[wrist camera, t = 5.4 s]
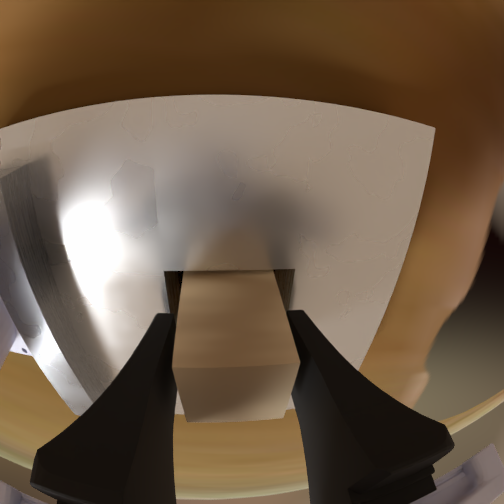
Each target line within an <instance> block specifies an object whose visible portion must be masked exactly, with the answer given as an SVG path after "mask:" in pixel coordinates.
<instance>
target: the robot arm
mask: <svg viewBox="0 0 504 504" xmlns="http://www.w3.org/2000/svg"><path fill="white" fill-rule="evenodd" d="M286 315H287V319H288V322H289V325H290V329H291V332H292V336H293V339H294V342H295V346H296V349H297V353H298V356H299V359H300V365H299V369H298V372H297V376H296V379H295V382H294V386H293V389H292V392H291V396H292V399H293V403H294V406H295V410H296V413H297V416H298V420H299V424H300V429H301V435H302V441H303V447H304V453H305V460H306V467H307V475H308V483H309V494H310V504H491V503H492V502H493V501H494V500H495V499H496V498H497V497H499V496H500V495H501V494H502V493H503V492H504V466H503V464H502V462H501V459H500V457H499V455H498V453H497V451H496V449H495V447H494V444H493V443H491V444H490V445H489V446H487V447H486V448H484V449H483V450H481V451H480V452H478V453H477V454H475V455H474V456H472V457H471V458H470V459H468V460H466V461H465V462H464V463H463V464H462V465H460V466H458V467H457V468H455V469H453V470H452V471H450V472H448V473H447V474H445V475H443V476H441V477H439V478H437V479H435V480H433V478H432V475H431V474H433V473H434V472H435V470H434V467H433V465H432V464H434V463H435V462H437V461H438V460H439V459H441V458H442V457H444V456H445V455H446V454H448V453H449V452H450V451H451V450H452V449H453V448H454V442H453V440H452V438H451V436H450V434H449V431H448V430H447V428H446V426H445V425H444V424H442V423H439V422H437V421H435V420H432V419H430V418H428V417H426V416H424V415H421V414H419V413H418V412H416V411H414V410H412V409H410V408H408V407H407V406H405V405H403V404H402V403H400V402H399V401H397V400H395V399H394V398H392V397H391V396H390V395H388V394H387V393H385V392H384V391H382V390H381V389H379V388H378V387H377V386H375V385H374V384H373V383H372V382H370V381H369V380H368V379H367V378H366V377H364V376H363V375H362V374H361V373H360V372H359V371H358V370H357V369H356V368H354V367H353V366H352V365H351V364H350V363H349V362H348V361H347V360H346V359H345V358H344V357H343V356H342V355H341V354H340V353H339V351H338V350H337V349H336V348H335V347H334V346H333V345H332V344H331V343H330V342H329V340H328V339H327V338H326V337H325V336H324V335H323V333H322V332H321V331H320V330H319V329H318V328H317V326H316V325H315V324H314V323H313V321H312V320H311V319H310V318H309V316H308V315H307V314H306V313H305V311H304V310H287V312H286ZM175 333H176V323H175V317H174V313H157V314H156V315H155V317H154V319H153V320H152V322H151V324H150V326H149V328H148V329H147V331H146V333H145V334H144V336H143V338H142V339H141V341H140V343H139V344H138V346H137V347H136V349H135V350H134V352H133V354H132V355H131V357H130V358H129V360H128V361H127V362H126V364H125V365H124V366H123V368H122V369H121V371H120V372H119V373H118V375H117V376H116V377H115V379H114V380H113V381H112V383H111V384H110V385H109V386H108V387H107V389H106V390H105V391H104V392H103V393H102V394H101V396H100V397H99V398H98V399H97V400H96V401H95V402H94V403H93V404H92V405H91V406H90V407H89V408H88V409H87V410H86V411H85V412H84V413H83V414H82V415H81V416H80V417H79V418H78V419H77V420H75V421H74V422H73V423H72V424H71V425H70V426H69V427H67V428H66V429H65V430H64V431H63V432H61V433H60V434H59V435H58V436H56V437H55V438H53V439H52V440H51V441H49V442H48V443H46V444H45V445H44V446H42V447H41V448H39V449H38V450H37V453H36V456H35V459H34V463H33V468H32V474H31V479H30V484H31V486H32V487H33V488H35V489H37V490H39V491H40V492H42V493H44V494H46V495H48V496H51V497H52V498H54V499H57V504H176V495H175V483H174V466H173V423H174V414H175V406H176V398H177V391H178V389H177V385H176V381H175V377H174V373H173V370H172V362H173V352H174V342H175ZM9 351H12V352H17V353H21V354H26V355H31V356H33V355H32V354H31V352H30V351H29V349H28V347H27V346H26V344H25V342H24V340H23V339H22V337H21V335H20V333H19V332H18V330H17V328H16V326H15V324H14V322H13V320H12V318H11V317H10V315H9V313H8V311H7V309H6V306H5V304H4V302H3V300H2V298H1V296H0V369H1V367H2V365H3V363H4V361H5V359H6V357H7V355H8V353H9ZM0 504H47V503H45V502H42V501H40V500H38V499H35V498H33V497H31V496H28V495H26V494H24V493H22V492H20V491H19V490H17V489H16V488H14V487H12V486H10V485H8V484H6V483H4V482H3V481H1V480H0Z"/></svg>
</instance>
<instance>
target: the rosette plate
mask: <svg viewBox="0 0 504 504" xmlns="http://www.w3.org/2000/svg"><path fill="white" fill-rule="evenodd" d="M434 134H435V128H434V127H431V126H428V125H424V124H421V123H418V122H414V121H410V120H407V119H403V118H399V117H395V116H391V115H387V114H383V113H378V112H374V111H369V110H364V109H359V108H354V107H348V106H343V105H337V104H330V103H324V102H317V101H309V100H301V99H291V98H280V97H267V96H250V95H181V96H164V97H151V98H141V99H131V100H123V101H116V102H109V103H102V104H96V105H91V106H85V107H80V108H75V109H70V110H66V111H61V112H57V113H53V114H49V115H45V116H41V117H37V118H33V119H30V120H26V121H23V122H20V123H16V124H13V125H10V126H7V127H4V128H1V129H0V296H1V298H2V300H3V302H4V304H5V306H6V309H7V311H8V313H9V315H10V317H11V318H12V320H13V322H14V324H15V326H16V328H17V330H18V332H19V333H20V335H21V337H22V339H23V340H24V342H25V344H26V346H27V347H28V349H29V351H30V352H31V354H32V355H33V357H34V359H35V360H36V362H37V363H38V365H39V366H40V368H41V369H42V371H43V372H44V374H45V375H46V377H47V378H48V380H49V381H50V382H51V384H52V385H53V387H54V388H55V389H56V391H57V392H58V393H59V395H60V396H61V397H62V399H63V400H64V401H65V402H66V404H67V405H68V406H69V408H70V409H71V410H72V411H73V412H74V414H76V415H82V414H83V413H84V412H85V411H86V410H87V409H88V408H89V407H90V406H91V405H92V404H93V403H94V402H95V401H96V400H97V399H98V398H99V397H100V396H101V394H102V393H103V392H104V391H105V390H106V389H107V387H108V386H109V385H110V384H111V383H112V381H113V380H114V379H115V377H116V376H117V375H118V373H119V372H120V371H121V369H122V368H123V366H124V365H125V364H126V362H127V361H128V360H129V358H130V357H131V355H132V354H133V352H134V350H135V349H136V347H137V346H138V344H139V343H140V341H141V339H142V338H143V336H144V334H145V333H146V331H147V329H148V328H149V326H150V324H151V322H152V320H153V319H154V317H155V315H156V314H157V313H174V317H175V323H176V325H177V317H178V309H179V301H180V287H179V278H178V271H215V270H272V269H275V279H276V282H277V285H278V289H279V292H280V295H281V299H282V302H283V305H284V309H285V312H287V310H304V311H305V313H306V314H307V315H308V316H309V318H310V319H311V320H312V321H313V323H314V324H315V325H316V326H317V328H318V329H319V330H320V331H321V332H322V333H323V335H324V336H325V337H326V338H327V339H328V340H329V342H330V343H331V344H332V345H333V346H334V347H335V348H336V349H337V350H338V351H339V353H340V354H341V355H342V356H343V357H344V358H345V359H346V360H347V361H348V362H349V363H350V364H351V365H352V366H353V367H354V368H356V369H357V370H359V368H360V366H361V364H362V362H363V360H364V357H365V355H366V353H367V351H368V349H369V347H370V345H371V343H372V341H373V338H374V336H375V334H376V332H377V329H378V327H379V325H380V322H381V320H382V318H383V315H384V313H385V310H386V308H387V306H388V303H389V300H390V298H391V295H392V293H393V290H394V287H395V285H396V282H397V279H398V276H399V274H400V271H401V268H402V265H403V262H404V259H405V256H406V253H407V250H408V247H409V243H410V240H411V237H412V233H413V230H414V227H415V223H416V219H417V216H418V212H419V208H420V204H421V200H422V196H423V192H424V187H425V183H426V178H427V174H428V169H429V164H430V158H431V153H432V147H433V141H434ZM287 409H295V406H294V403H293V399H292V396H291V395H290V399H289V402H288V405H287V408H286V410H287ZM175 414H184V410H183V407H182V403H181V400H180V396H179V393H178V391H177V398H176V406H175Z"/></svg>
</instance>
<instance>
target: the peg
mask: <svg viewBox="0 0 504 504" xmlns="http://www.w3.org/2000/svg"><path fill="white" fill-rule="evenodd" d="M299 365H300V359H299V356H298V353H297V349H296V346H295V342H294V339H293V336H292V332H291V329H290V325H289V322H288V319H287V315H286V312H285V309H284V305H283V302H282V299H281V295H280V292H279V289H278V285H277V282H276V279H275V275H274V272H273V269H272V270H215V271H184V273H183V280H182V287H181V294H180V301H179V309H178V317H177V325H176V333H175V342H174V352H173V362H172V370H173V373H174V377H175V381H176V385H177V389H178V393H179V396H180V400H181V403H182V407H183V410H184V414H185V417H186V420H187V422H238V421H255V420H267V419H277V418H283V417H284V414H285V411H286V408H287V405H288V402H289V399H290V395H291V392H292V389H293V386H294V382H295V379H296V376H297V372H298V369H299Z"/></svg>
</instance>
